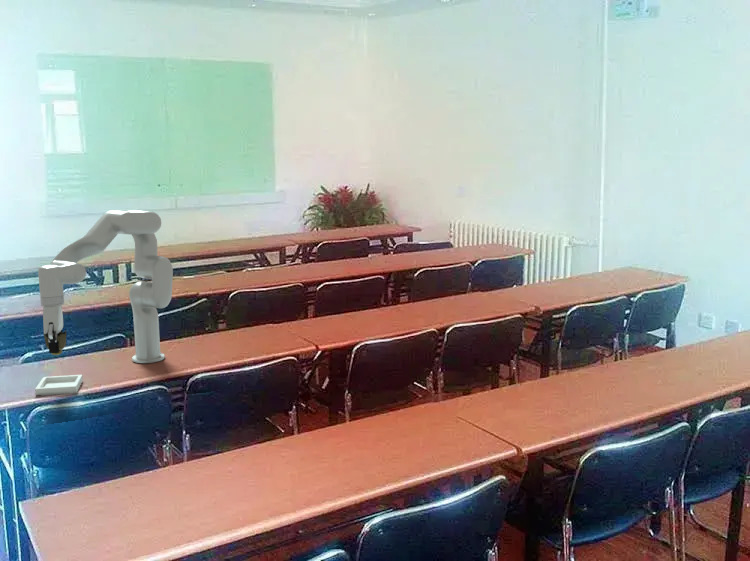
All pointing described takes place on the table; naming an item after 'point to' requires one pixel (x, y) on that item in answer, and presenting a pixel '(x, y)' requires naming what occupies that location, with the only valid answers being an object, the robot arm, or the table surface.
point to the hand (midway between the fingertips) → (56, 349)
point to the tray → (59, 385)
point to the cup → (60, 338)
